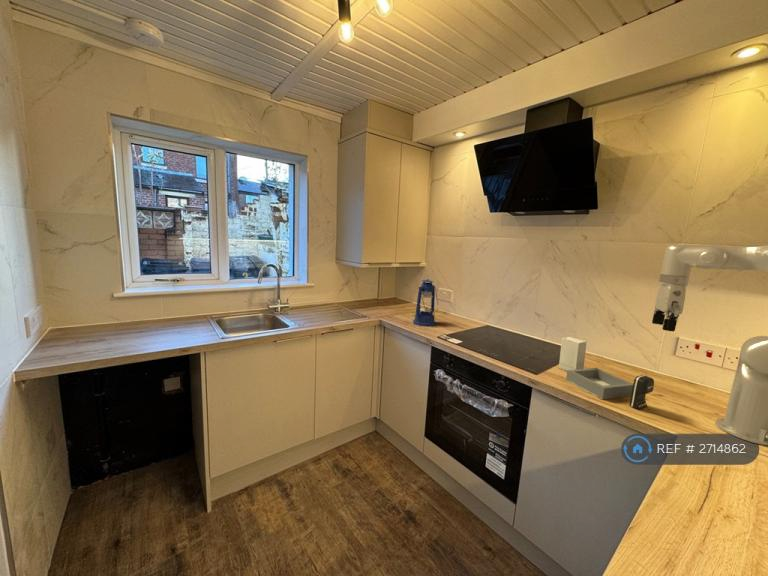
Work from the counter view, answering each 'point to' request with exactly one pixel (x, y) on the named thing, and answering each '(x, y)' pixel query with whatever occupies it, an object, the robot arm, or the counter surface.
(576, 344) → the skincare box
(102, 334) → the counter surface
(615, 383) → the bin
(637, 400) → the dark piece
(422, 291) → the lantern
